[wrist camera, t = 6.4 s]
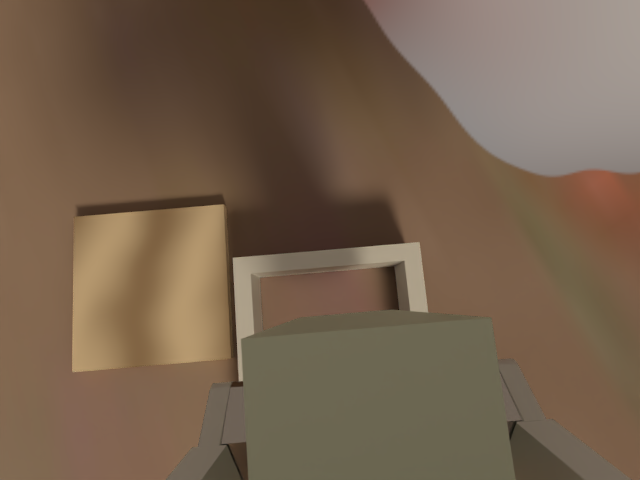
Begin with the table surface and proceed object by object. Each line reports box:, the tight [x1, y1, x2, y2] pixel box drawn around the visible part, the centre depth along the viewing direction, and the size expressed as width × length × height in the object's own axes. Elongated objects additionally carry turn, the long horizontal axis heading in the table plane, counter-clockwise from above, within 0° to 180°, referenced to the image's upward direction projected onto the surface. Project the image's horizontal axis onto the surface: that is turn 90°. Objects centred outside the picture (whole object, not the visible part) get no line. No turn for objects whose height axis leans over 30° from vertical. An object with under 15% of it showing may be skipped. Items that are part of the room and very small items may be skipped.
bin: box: [233, 242, 428, 381], centre depth 25 cm, size 11×12×4 cm
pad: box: [72, 204, 234, 372], centre depth 27 cm, size 10×10×1 cm
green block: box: [241, 310, 516, 480], centre depth 13 cm, size 4×4×13 cm
